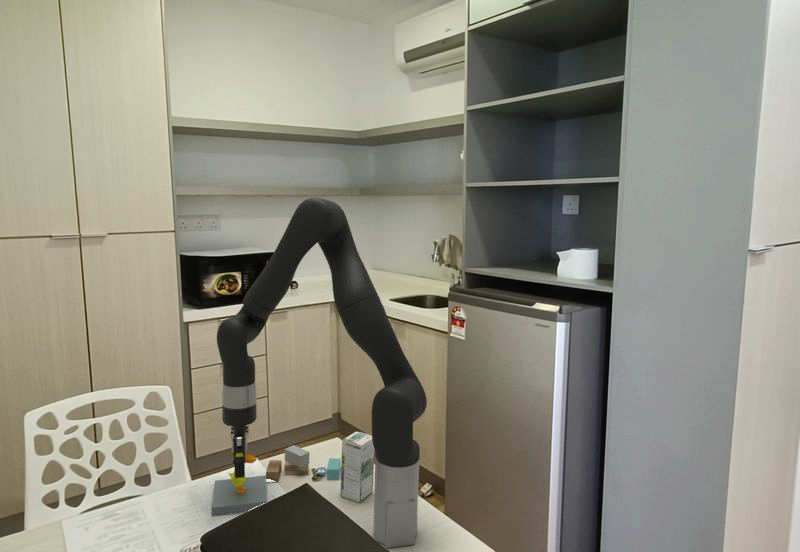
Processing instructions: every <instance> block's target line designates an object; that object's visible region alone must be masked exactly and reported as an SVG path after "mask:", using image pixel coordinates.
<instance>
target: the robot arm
mask: <svg viewBox="0 0 800 552" xmlns="http://www.w3.org/2000/svg"><path fill="white" fill-rule="evenodd" d="M351 230H352V229H351V227H350V224H349V221H348V218H347V215H346V213H345V211H344V210H343V209H342V207H341V206H340V205H339V204H338V203H336V202H334V201H331V200H328V199H324V198H321V197H309V198H306V199H304V200H303V201H302V202H300V204H298V206H297V207H296V208H295V211H294V213H293V214H292V217H291V218H290V221H289V223H288V225H287V227H286V229H285V231H284V233H283V235H282V237H281V238H280V241H279V243H278V244H277V246H276V248H275V250H274V252H273V254H272V255H271V257H270V259H269V260H268V262H267V264H266V265H265V267H264V268H263V270H262V271H261V273H260V274H259V275H258V277H257V278H256V280H255V281H254V282H253V284H252V285H251V287H250V288H249V289H248V291H247V292H246V293H245V295H244V297H243V298H242V299H243V300H242V304H243V305H242V306H241V308H240V310H239V311H238V312H237V313H236V314H235V315H234V316H231V317H228V318H226V319H225V320H223V321H222V322H221V323H220V324H219V326H218V328H217V332H216V344H217V349H218V353H219V356H220V360H221V363H222V366H223V367H222V390H221V398H222V399H221V403H222V404H221V411H222V412H221V414H222V423H223V424H224V425H226V426H228V427H230V440H231V452H232V453H233V454H232V455H233V457H232V458H233V460H232V463H233V464H234V471H235V478H243V477H244V476H245V477H246V470H245V469H246V463H245V461H246V458H245V454H246V452H247V451H248V439H249V431H250V430H249V427H250V426H249V425H251V424H253V423H255V421H257V416H258V415H257V414H258V413H257V412H258V411H257V387H256V386H257V385H256V362H255V359H254V358H253V356H251V355H249V352H248V344H250V343H252V342H253V341H255V340H256V338H257V337H258V336H259V335H260V334H261V332H262V331H263V329H264V327H265V326H266V324H267V321H268V320H269V318H270V315H271V314H272V313H273V312H274V311H275V309H276V308H277V307H278V305H279V304H280V302H281V301H282V300H283V299H284V297H285V296H286V295H287V293H288V292H289V289H290V287H291V285H292V282H293V280H294V277H295V274H296V271H297V269H298V267H299V265H300V264H301V262H302V260H303V258H304V257H305V256H306V255H307V253H308V252H309V251H310V250H311V249H312V248H313V247H314V246H315V245H317V244H318V246H319V248H320V249H321V250H322V253H323V255H324V257H325V260H326V261H327V264H328V267H329V270H330V273H331V285H332V294H333V300H334V305H335V308H336V311H337V313H338V315H339V318H340V320H341V322H342V324H343V326H344V329H345V331H346V333H347V335H348V336H349V337H350V338H351V340H352V341H353V342H354V343H355V344H356V345H357V346H358V347H359V348H360V349H361V350H362V351H363V352H364V353H365V354H366V355H367V356H368V357H369V359H370V360H371V361H372V363H373V364H374V365H375V368H376V369H377V371H378V373H379V376H380V377H381V380H382V383H383V385H384V387H382V388H381V389H380V390H379V391H378V392H376V394H375V395H374V397H373V400H372V404H371V405H372V406H371V436H372V442H373V446H374V453H375V456H374V466H375V467H374V492H373V493H374V495H373V496H374V497H373V498H374V499H373V500H374V501H373V503H374V504H373V537H374V538H375V540H376V541H377V542H378V543H379V544H382V545H384V547H385V548H386V549H390V548H392V549H393V548H397V547H405V546H411V545H415V544H416V538H417V534H418V531H417V530H418V511H419V509H418V507H419V503H418V502H419V501H418V500H419V482H420V481H419V478H420V477H419V476H420V474H419V473H420V456H421V453H420V452H421V449H420V448H421V447H420V445H419V443H418V442H417V440H415V439H414V423H415V422H416V421H417V420H419V418H421V417H422V416H423V414H425V411H426V409H427V403H428V402H427V401H428V400H427V395H426V391H425V389H424V387H423V385H422V383H421V381H420V379H419V377H418V376H417V373H415V370H414V369H413V367H412V365H411V363H410V362H409V359H408V358H407V357H406V355H405V352H404V351H403V348H402V346H401V344H400V342H399V339H398V338H397V336H396V335H397V334H396V333H395V331H394V329H393V327H392V324H391V321H390V320H389V318H388V314H387V313H386V309H385V307H384V305H383V303H382V301H381V298H380V296H379V294H378V292H377V289H376V288H375V286H374V284H373V281H372V278H371V276H370V274H369V273H368V270H367V269H366V268H367V267H365V264H364V262H363V260H362V258H361V256H360V254H359V251H358V249H357V245H356V243H355V240H354V237H353V234H352V231H351ZM237 453H243V456H242V457H236V454H237ZM234 471H233V472H234Z"/></svg>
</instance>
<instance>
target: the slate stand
mask: <svg viewBox="0 0 800 552" xmlns="http://www.w3.org/2000/svg"><path fill="white" fill-rule="evenodd" d="M267 483H268V482H267ZM267 483H266V474H265V475H256V476H245V482H244V484H243V485H242V486H241V487H245V488H246V491H245V493H244V494H239V493H236V491H237V487H236V486H235V485H234V484H233V483H232V479H231V478H228V479H219V480H217V479H216V480H214V486H213V493H212V501H211V517H216V516H217V517H218V516H225V515H234V514H233V513H235V514H242V512H243V513H246V512H245V511H248V510H250V509H252V508H254V507H256V506H259V505H261V504H263V503H266V502H267V503H268V488H267V487H268V486H267ZM231 513H232V514H231Z"/></svg>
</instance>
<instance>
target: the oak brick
mask: <svg viewBox="0 0 800 552" xmlns="http://www.w3.org/2000/svg"><path fill="white" fill-rule="evenodd" d="M309 464H310V462H309V463H308V464H306V465H304V466H302V467H299V466H297V465H294V464H292V463H290V462H288V461H286V460H285V459H284V466H283V467H284V468H283V469H284V476H301V475H303V476H304V475H306V476H307V475H309Z"/></svg>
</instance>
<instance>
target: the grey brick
mask: <svg viewBox="0 0 800 552" xmlns="http://www.w3.org/2000/svg"><path fill="white" fill-rule="evenodd" d="M285 460H286V461H288V462H290V463H292V464H294V465H297V466H299V467H302V466H304V465H306V464H308V463H309V464H310V451H308V450H305V449H303V448H301V447H299V446H296V445H294V444H293V445H291V446H289V447H286V448H285V449H284V461H285Z"/></svg>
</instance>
